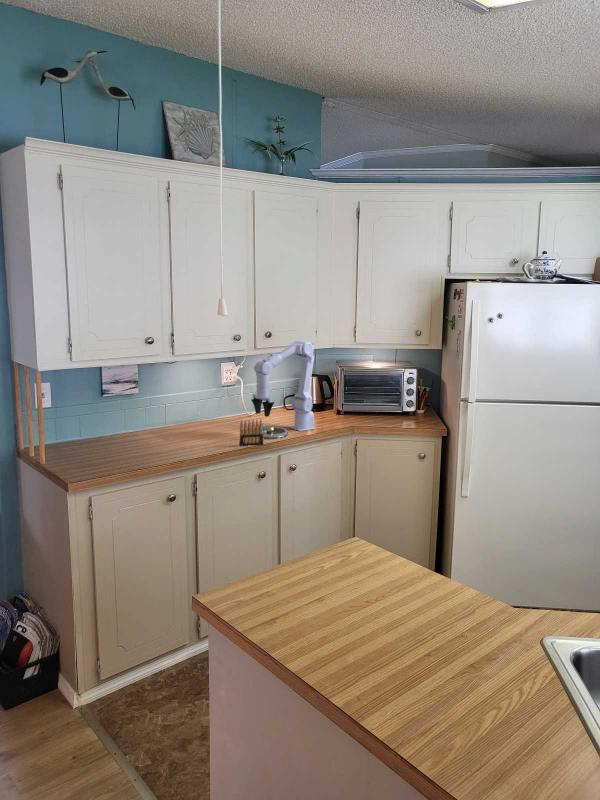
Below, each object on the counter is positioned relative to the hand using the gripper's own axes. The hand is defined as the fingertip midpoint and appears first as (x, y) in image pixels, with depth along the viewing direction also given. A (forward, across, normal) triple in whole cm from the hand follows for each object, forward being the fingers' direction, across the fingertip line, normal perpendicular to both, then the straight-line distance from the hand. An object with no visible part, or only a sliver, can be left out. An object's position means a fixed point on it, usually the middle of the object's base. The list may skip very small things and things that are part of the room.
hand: (262, 414), depth 310 cm
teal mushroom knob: (+10, 0, 0) cm, 10 cm away
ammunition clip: (+11, +11, -14) cm, 20 cm away
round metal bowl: (+10, 0, +4) cm, 11 cm away
